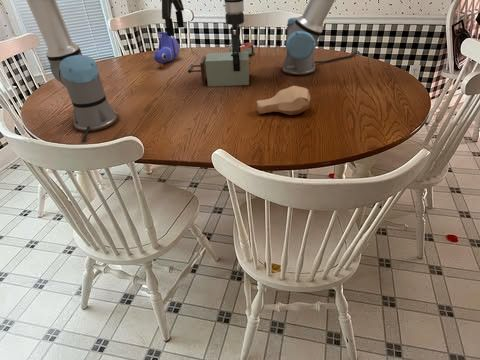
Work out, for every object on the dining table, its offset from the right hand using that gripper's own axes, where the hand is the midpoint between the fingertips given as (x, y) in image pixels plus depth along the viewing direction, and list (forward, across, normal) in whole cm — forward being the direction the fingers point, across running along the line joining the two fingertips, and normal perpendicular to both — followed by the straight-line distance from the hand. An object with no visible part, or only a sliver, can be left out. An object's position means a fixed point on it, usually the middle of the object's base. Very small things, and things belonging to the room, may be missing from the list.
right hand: (237, 66), depth 157 cm
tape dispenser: (+7, -33, 0) cm, 33 cm away
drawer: (+6, 0, -10) cm, 12 cm away
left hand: (-15, -2, -25) cm, 30 cm away
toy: (+7, -29, -39) cm, 49 cm away
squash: (+7, +34, +18) cm, 39 cm away
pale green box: (+7, 0, -4) cm, 8 cm away
